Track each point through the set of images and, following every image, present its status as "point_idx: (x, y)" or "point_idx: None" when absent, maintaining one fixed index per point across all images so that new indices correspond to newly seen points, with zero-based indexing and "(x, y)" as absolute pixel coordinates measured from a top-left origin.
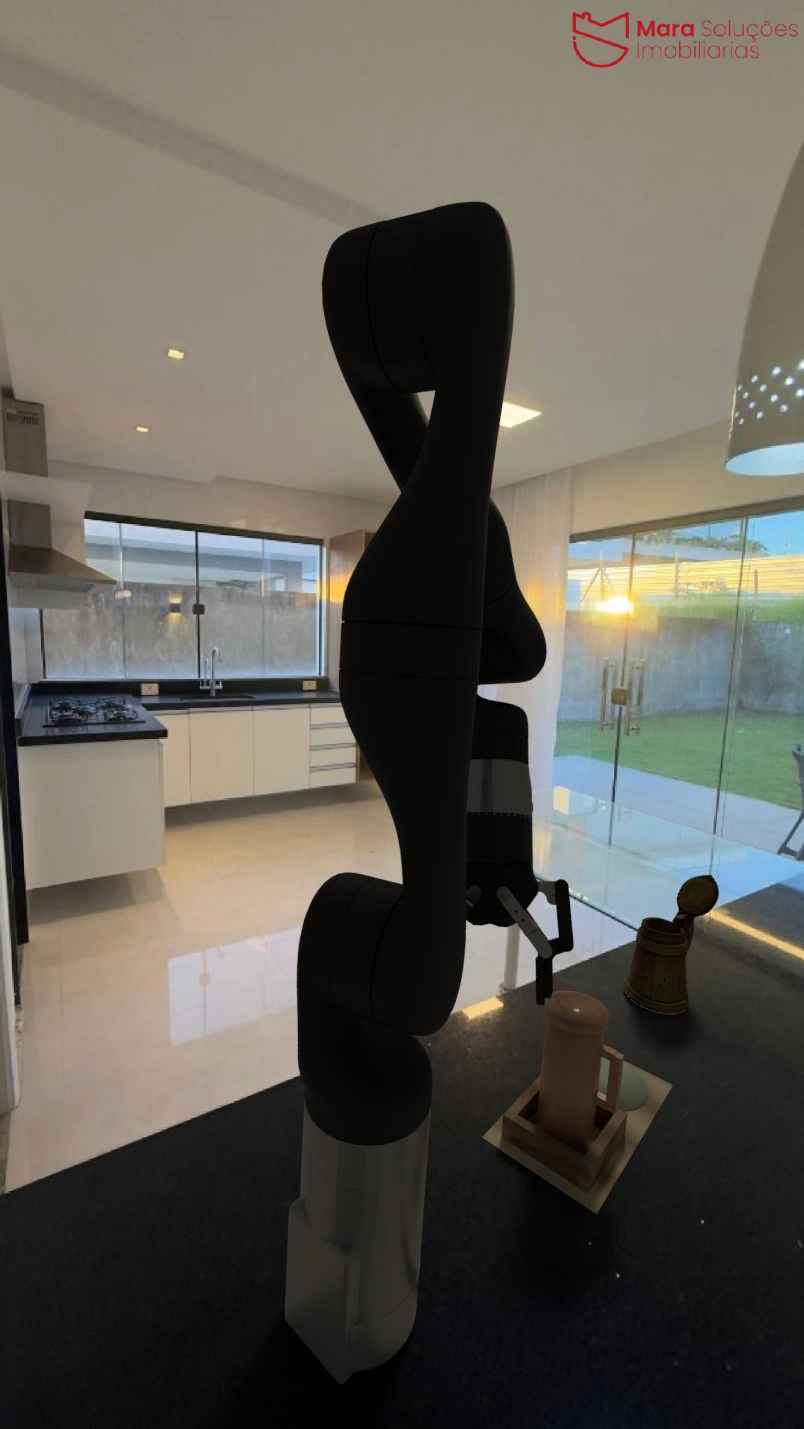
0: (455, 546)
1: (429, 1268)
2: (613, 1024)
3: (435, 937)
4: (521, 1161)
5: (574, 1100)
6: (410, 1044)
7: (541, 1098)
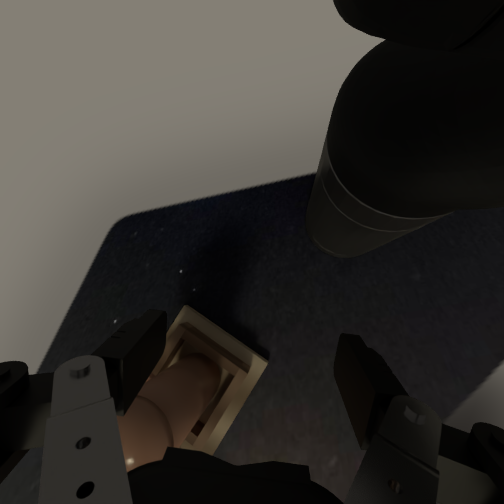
0: None
1: (300, 250)
2: None
3: None
4: (235, 343)
5: (174, 368)
6: (384, 132)
7: (208, 384)
